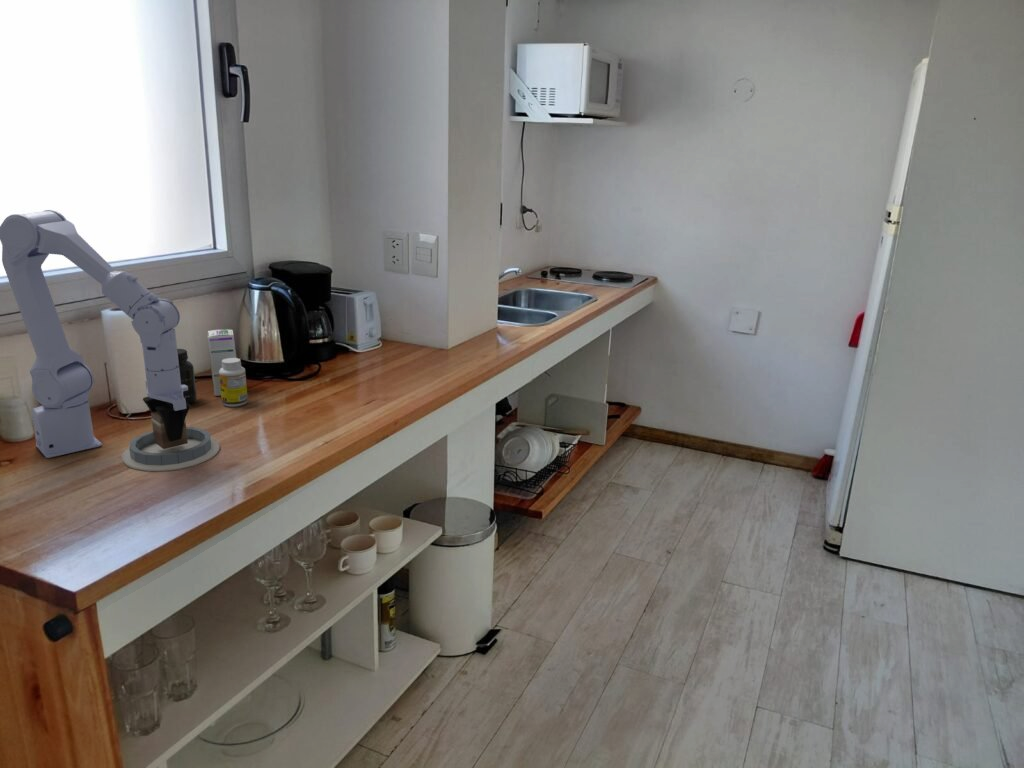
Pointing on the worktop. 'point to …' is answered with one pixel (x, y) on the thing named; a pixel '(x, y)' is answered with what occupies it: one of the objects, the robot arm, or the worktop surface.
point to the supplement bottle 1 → (187, 376)
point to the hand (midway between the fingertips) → (170, 435)
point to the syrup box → (220, 353)
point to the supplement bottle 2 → (233, 383)
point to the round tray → (170, 452)
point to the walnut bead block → (161, 435)
